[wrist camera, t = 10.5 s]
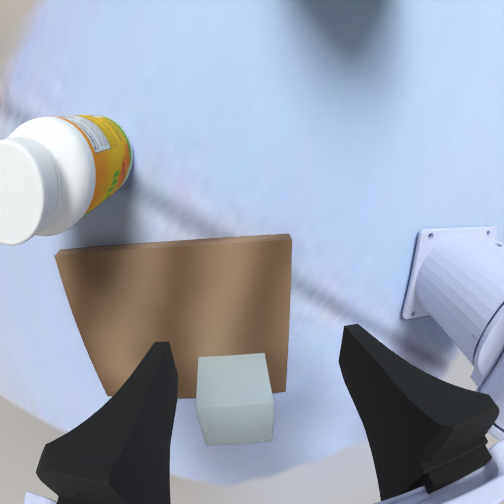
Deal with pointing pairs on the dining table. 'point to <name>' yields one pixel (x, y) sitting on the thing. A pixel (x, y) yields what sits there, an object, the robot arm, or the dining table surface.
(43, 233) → the supplement bottle
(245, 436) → the pale blue-gray cube
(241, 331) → the brown wooden board
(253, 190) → the dining table surface
